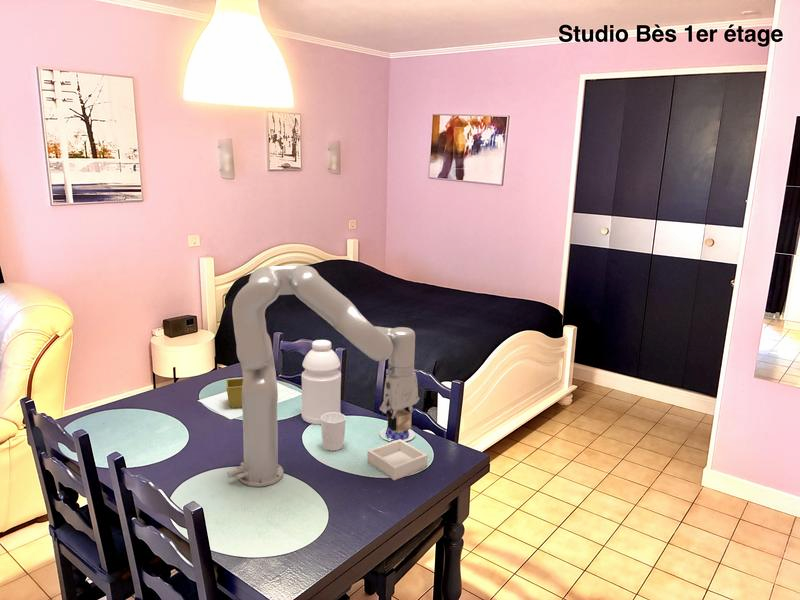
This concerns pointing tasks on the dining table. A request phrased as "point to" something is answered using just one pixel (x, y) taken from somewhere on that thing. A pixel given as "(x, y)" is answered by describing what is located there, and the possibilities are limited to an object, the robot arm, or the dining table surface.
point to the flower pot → (234, 392)
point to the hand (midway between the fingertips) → (399, 425)
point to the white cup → (333, 430)
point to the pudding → (397, 434)
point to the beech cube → (402, 420)
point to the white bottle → (320, 382)
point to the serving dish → (397, 459)
